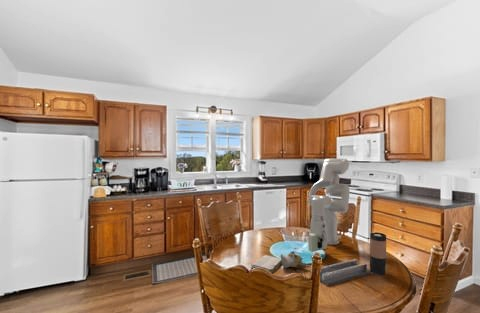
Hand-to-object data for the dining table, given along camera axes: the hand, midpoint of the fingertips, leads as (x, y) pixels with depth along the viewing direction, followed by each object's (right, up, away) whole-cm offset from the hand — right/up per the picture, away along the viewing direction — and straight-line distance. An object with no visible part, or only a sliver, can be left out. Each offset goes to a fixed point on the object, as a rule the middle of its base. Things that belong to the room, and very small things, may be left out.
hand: (317, 246), depth 151 cm
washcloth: (-33, -5, -16) cm, 37 cm away
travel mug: (+25, -6, -22) cm, 34 cm away
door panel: (0, -2, 0) cm, 2 cm away
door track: (+4, -5, -25) cm, 26 cm away
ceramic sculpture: (-19, -5, -17) cm, 26 cm away
